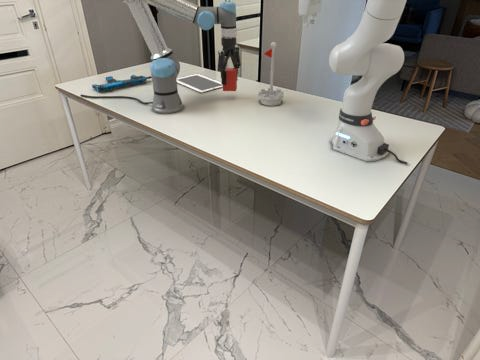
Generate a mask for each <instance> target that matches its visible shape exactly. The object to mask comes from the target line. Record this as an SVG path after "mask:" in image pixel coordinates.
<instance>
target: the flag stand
mask: <svg viewBox="0 0 480 360" xmlns="http://www.w3.org/2000/svg"><path fill="white" fill-rule="evenodd" d="M277 46H278V45H277V43H276V42H275V41H272V42H271V43H270V49H268V50H267V51H266V52H264V53H263V55H265V56H266V57H269V58H271V59H270V77H269V87H267V89H265V88H261V89H260V90H259V91H258V98H259V99H260V100H259V102H260V104H262V105H264V106H269V107H270V106H271V107H274V106H278V105H280V104H281V103H282V99H284V96H285V95H284V94H285V93H284V91H282V89H280V88H276V89H275V90H274V72H275V58H276V57H275V56H276V55H275V54H276V48H277Z"/></svg>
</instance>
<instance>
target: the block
mask: <svg viewBox="0 0 480 360" xmlns="http://www.w3.org/2000/svg"><path fill="white" fill-rule="evenodd" d="M225 72H226V85H223V87H222V92H237V89H238V81H237V78H238V74H237V68H234V67H226V69H225Z"/></svg>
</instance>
